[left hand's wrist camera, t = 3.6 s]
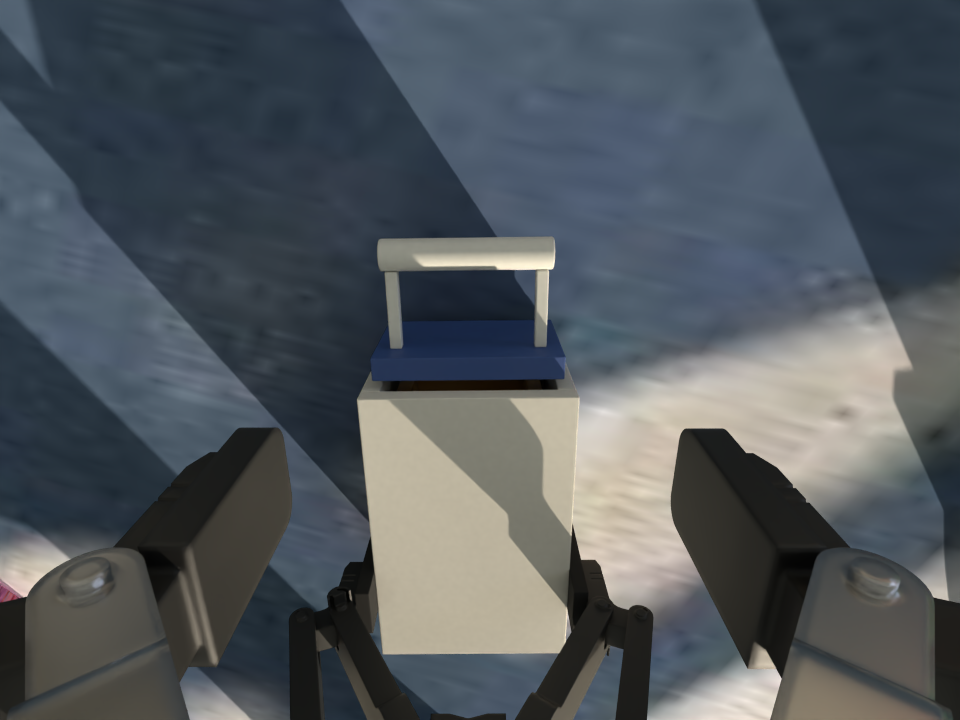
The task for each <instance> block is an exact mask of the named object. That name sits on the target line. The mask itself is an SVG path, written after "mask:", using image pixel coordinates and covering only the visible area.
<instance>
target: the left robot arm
mask: <svg viewBox="0 0 960 720" xmlns="http://www.w3.org/2000/svg"><path fill="white" fill-rule="evenodd" d="M291 509H292V492H291V485H290V478H289V472H288V465H287V458H286V451H285V444H284V438H283V434H282V432H281V430H280V429H279V428H238V429H237V430H236V431H235V432H234V433H233V434H232V436H231V437H230V438H229V439H228V440H227V442H226V443H225V444H224V445H223V446H222V447H221V449H220V450H219V451H218V452H210V453H208V454H206V455H205V456H203V457H202V458H200V459H198V460H197V461H195V462H193V463H192V464H190V465H188V466H187V467H186V468H185V469H184V470H183V471H182V472H181V473H180V474H179V475H178V477H177V478H176V479H175V480H174V481H173V482H172V483H171V487H168V488H167V489H166V490H165V491H164V492H163V493H162V494H161V495H160V496H159V498H158V501H155V502H154V503H153V504H152V505H151V506H150V507H149V509H148V510H147V511H146V512H145V513H144V514H143V515H142V516H141V517H140V518H139V520H138V521H137V522H136V523H135V524H134V525H133V526H132V527H131V528H130V529H129V531H128V532H127V533H126V534H125V535H124V536H123V537H122V538H121V539H120V540H119V542H118V543H117V544H116V545H115V546H114V547H113V548H106V549H100V550H96V551H92V552H89V553H85V554H83V555H80V556H77V557H75V558H73V559H71V560H69V561H66V562H64V563H63V564H61V565H59V566H57V567H56V568H54V569H53V570H51V571H50V572H49V573H47V574H46V575H45V576H44V577H42V578H41V579H40V580H39V581H38V582H37V583H36V584H35V585H34V586H33V588H32V589H31V591H30V592H29V594H28V596H27V597H24V598H19V599H14V600H10V601H5V602H1V603H0V720H190V719H189V715H188V712H187V708H186V705H185V701H184V698H183V694H182V691H181V687H180V684H179V682H180V681H181V679H182V677H183V675H184V673H185V672H186V670H187V668H188V667H217V665H218V663H219V661H220V659H221V657H222V655H223V653H224V651H225V649H226V647H227V645H228V643H229V641H230V639H231V637H232V635H233V633H234V631H235V629H236V627H237V625H238V623H239V621H240V619H241V617H242V615H243V613H244V611H245V609H246V607H247V605H248V603H249V601H250V599H251V597H252V595H253V593H254V591H255V589H256V587H257V585H258V583H259V581H260V579H261V577H262V575H263V573H264V571H265V570H266V568H267V566H268V564H269V562H270V560H271V558H272V556H273V554H274V552H275V550H276V548H277V546H278V544H279V542H280V540H281V538H282V536H283V534H284V532H285V530H286V528H287V526H288V523H289V520H290V516H291ZM671 511H672V517H673V521H674V524H675V527H676V529H677V531H678V533H679V535H680V537H681V539H682V541H683V543H684V545H685V547H686V549H687V551H688V553H689V555H690V556H691V558H692V560H693V562H694V564H695V566H696V568H697V570H698V572H699V574H700V576H701V578H702V580H703V582H704V584H705V586H706V588H707V590H708V592H709V594H710V596H711V598H712V600H713V602H714V604H715V606H716V608H717V609H718V611H719V613H720V615H721V617H722V619H723V621H724V623H725V625H726V627H727V629H728V631H729V633H730V635H731V637H732V639H733V641H734V643H735V645H736V647H737V649H738V651H739V653H740V655H741V657H742V659H743V661H744V662H745V664H746V666H747V668H748V669H777V671H778V673H779V674H780V676H781V678H782V680H781V684H780V687H779V691H778V694H777V698H776V701H775V705H774V708H773V712H772V715H771V719H770V720H960V603H955V602H951V601H946V600H942V599H937V598H933V596H932V594H931V592H930V591H929V589H928V588H927V586H926V585H925V584H924V583H923V582H922V581H921V580H920V579H919V578H918V577H916V576H915V575H914V574H913V573H911V572H910V571H909V570H907V569H906V568H904V567H903V566H901V565H899V564H897V563H896V562H894V561H891V560H889V559H887V558H885V557H883V556H880V555H877V554H875V553H871V552H868V551H864V550H860V549H854V548H850V547H849V546H848V545H847V543H846V542H845V541H844V540H843V539H842V538H841V537H840V536H839V535H838V534H837V533H836V531H835V530H834V529H833V528H832V527H831V526H830V525H829V524H828V523H827V522H826V521H825V519H824V518H823V517H822V516H821V515H820V514H819V513H818V512H817V511H816V510H815V509H814V507H813V506H812V505H811V504H810V503H806V499H805V498H804V497H803V495H802V494H801V493H800V492H799V491H798V490H797V489H796V488H793V485H792V483H791V482H790V481H789V480H788V479H787V478H786V477H785V476H784V475H783V474H782V472H781V471H780V470H779V469H778V468H777V467H775V466H773V465H772V464H770V463H768V462H767V461H765V460H764V459H762V458H760V457H759V456H757V455H755V454H754V453H746V452H745V451H744V450H743V449H742V448H741V447H740V445H739V444H738V443H737V442H736V441H735V440H734V438H733V437H732V436H731V435H730V434H729V433H728V432H727V431H726V430H725V429H684V430H683V431H682V433H681V435H680V439H679V445H678V452H677V459H676V465H675V472H674V479H673V485H672V492H671Z"/></svg>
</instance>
